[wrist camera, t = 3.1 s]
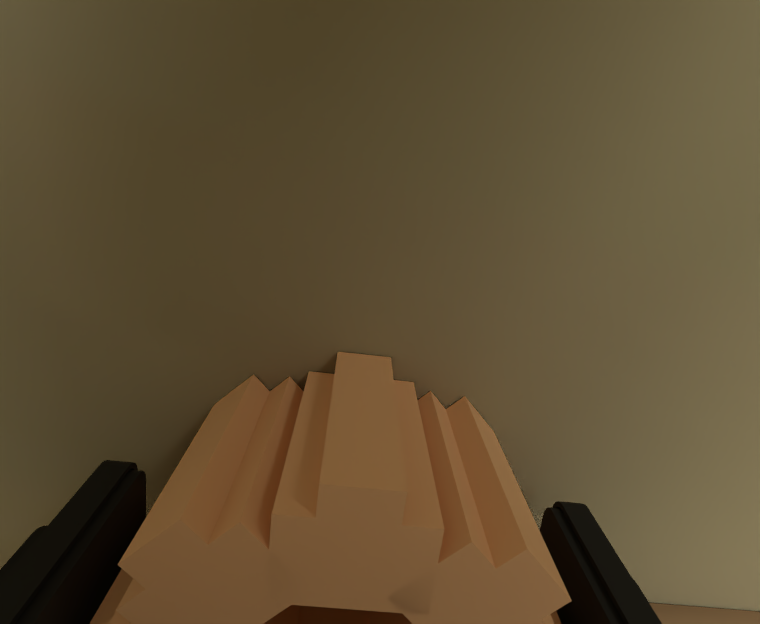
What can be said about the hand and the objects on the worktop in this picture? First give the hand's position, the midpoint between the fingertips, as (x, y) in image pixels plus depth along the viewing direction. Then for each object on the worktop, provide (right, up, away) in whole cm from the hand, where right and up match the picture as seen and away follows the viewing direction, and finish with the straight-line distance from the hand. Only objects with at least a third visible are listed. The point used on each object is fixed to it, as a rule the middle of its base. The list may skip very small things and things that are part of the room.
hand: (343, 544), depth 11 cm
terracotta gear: (0, 0, +1) cm, 1 cm away
